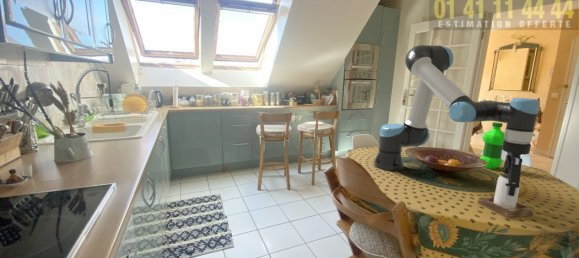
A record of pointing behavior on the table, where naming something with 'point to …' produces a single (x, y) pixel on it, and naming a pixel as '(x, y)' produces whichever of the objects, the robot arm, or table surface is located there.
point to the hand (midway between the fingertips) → (506, 196)
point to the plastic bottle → (493, 146)
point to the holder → (517, 212)
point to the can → (502, 190)
